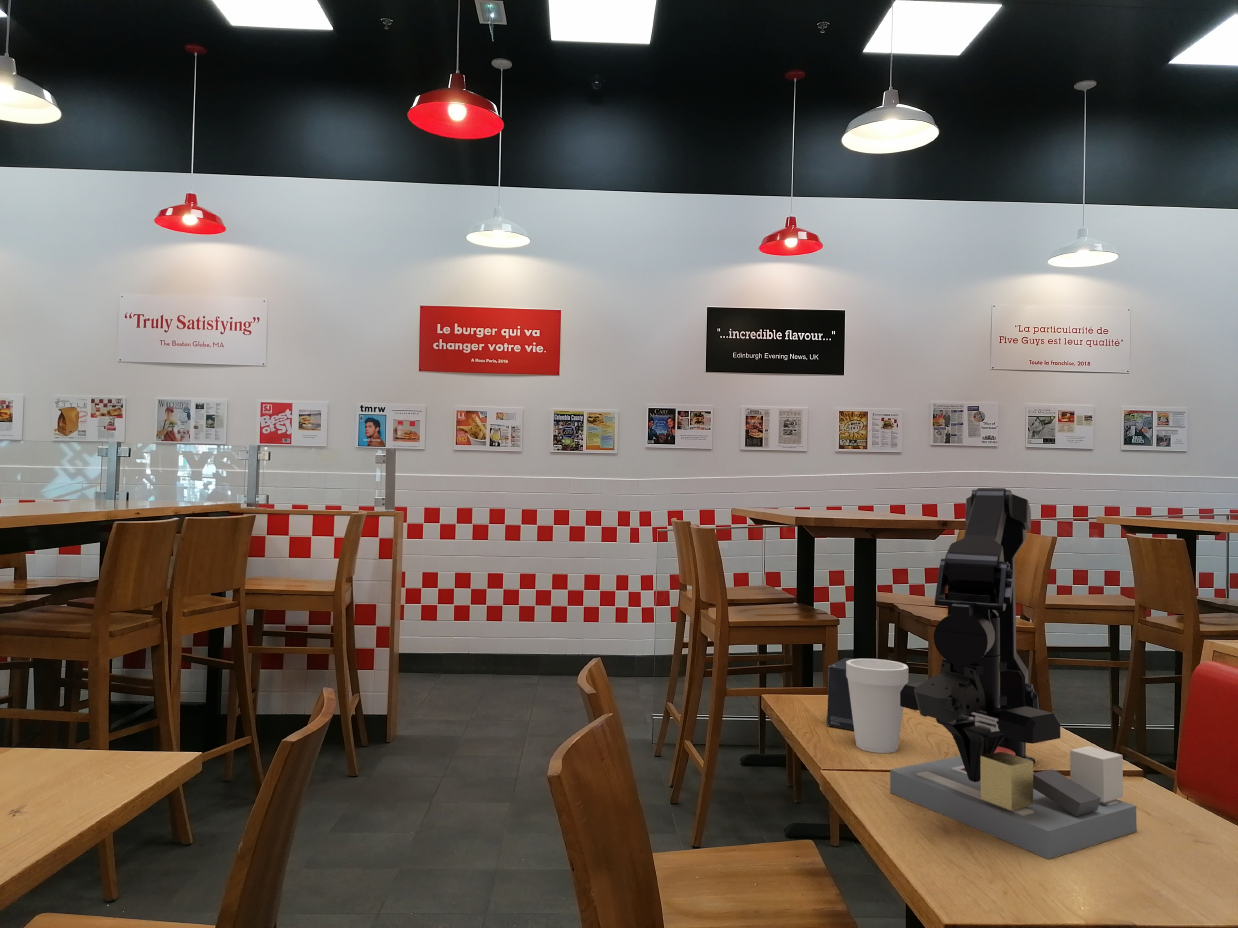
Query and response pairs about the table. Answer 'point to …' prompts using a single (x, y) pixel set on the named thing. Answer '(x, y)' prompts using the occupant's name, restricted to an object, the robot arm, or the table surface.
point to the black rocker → (1065, 792)
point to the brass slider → (1007, 780)
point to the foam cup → (876, 702)
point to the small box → (839, 696)
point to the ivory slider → (1098, 772)
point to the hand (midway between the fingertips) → (974, 780)
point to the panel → (1027, 827)
